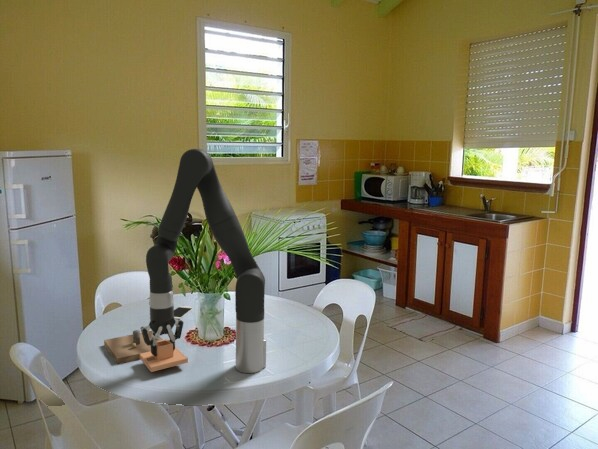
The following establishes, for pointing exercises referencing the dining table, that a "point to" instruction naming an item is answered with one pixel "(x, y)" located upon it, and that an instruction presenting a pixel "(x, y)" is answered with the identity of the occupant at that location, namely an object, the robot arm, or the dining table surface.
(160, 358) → the flange plate
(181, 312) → the smartphone
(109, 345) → the post base
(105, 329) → the dining table surface
